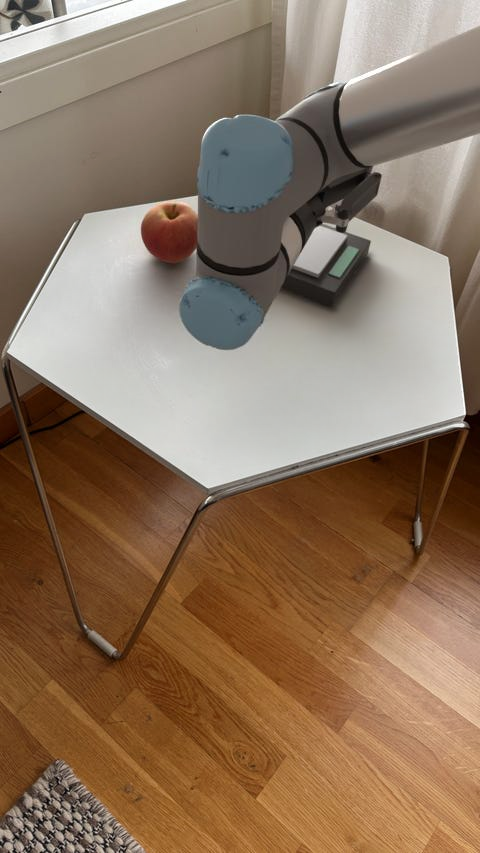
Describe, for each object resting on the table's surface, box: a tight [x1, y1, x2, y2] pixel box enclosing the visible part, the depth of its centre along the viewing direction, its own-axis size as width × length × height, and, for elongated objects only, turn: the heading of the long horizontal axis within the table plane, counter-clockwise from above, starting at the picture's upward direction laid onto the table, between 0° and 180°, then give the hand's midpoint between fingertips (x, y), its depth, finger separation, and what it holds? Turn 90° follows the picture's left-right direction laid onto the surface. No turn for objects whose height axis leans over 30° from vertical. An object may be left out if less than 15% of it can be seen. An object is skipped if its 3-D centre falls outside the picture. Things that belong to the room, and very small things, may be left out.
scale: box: [280, 223, 372, 308], centre depth 96 cm, size 14×13×3 cm
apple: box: [140, 201, 198, 264], centre depth 93 cm, size 8×8×8 cm
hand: (331, 137), depth 88 cm, fingers closed on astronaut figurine, 9 cm apart
